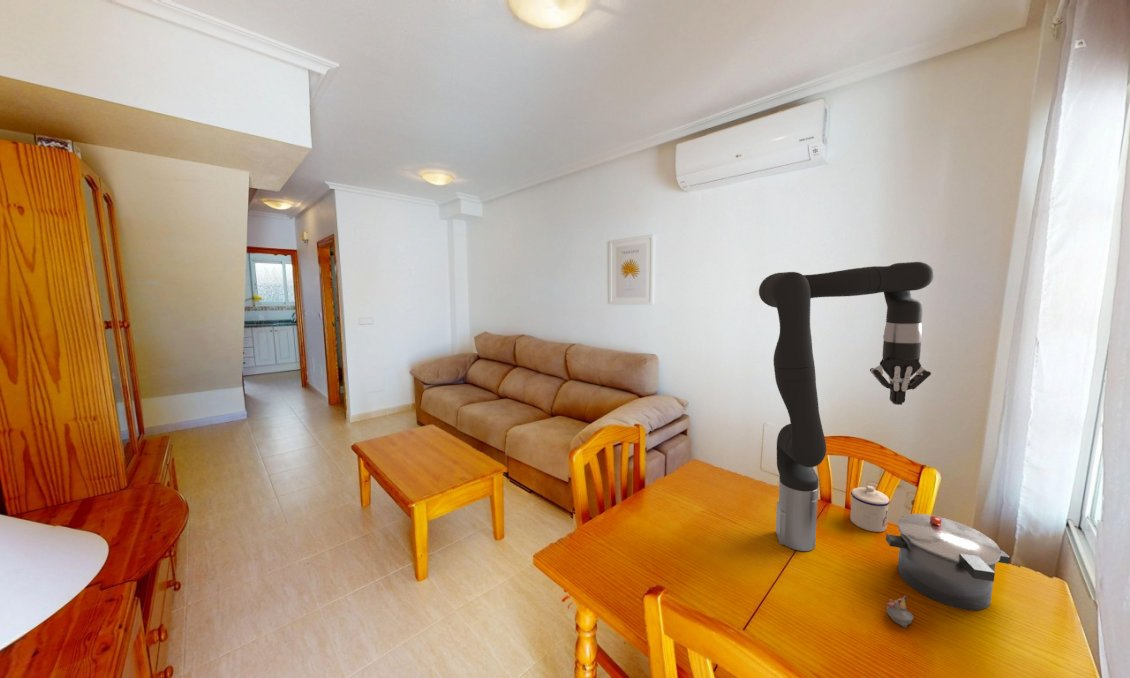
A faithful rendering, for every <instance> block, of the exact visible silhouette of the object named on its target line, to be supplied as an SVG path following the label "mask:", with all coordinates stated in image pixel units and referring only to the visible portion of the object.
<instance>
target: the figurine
mask: <svg viewBox="0 0 1130 678" xmlns="http://www.w3.org/2000/svg"><path fill="white" fill-rule="evenodd" d="M889 601H890V602H887V603H886V613H887V615H888V616H889V617H890V618H891V619H892V621H893V622H894V623H896V624H898V625H899V626H901V627H903V628H908V625H909V624H911V623H913V619H914V618H915V616H914V615H913V614H912V612H911V611H909V610H908V609H907V604H906V602H907V601H908V596H907V595H904V596H903V598H902V597H900V598H898V599H895V600H894V601H893V599H889ZM899 601H901V602H900V603H899Z"/></svg>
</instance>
